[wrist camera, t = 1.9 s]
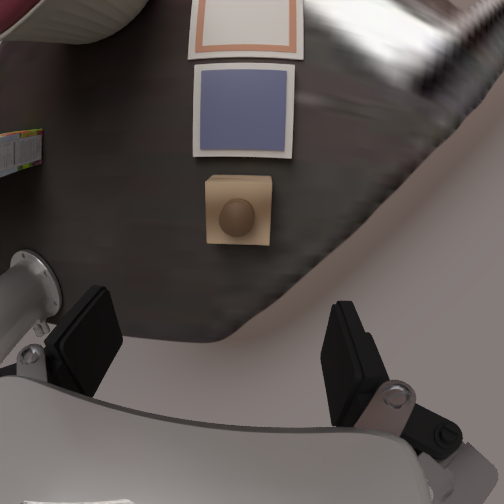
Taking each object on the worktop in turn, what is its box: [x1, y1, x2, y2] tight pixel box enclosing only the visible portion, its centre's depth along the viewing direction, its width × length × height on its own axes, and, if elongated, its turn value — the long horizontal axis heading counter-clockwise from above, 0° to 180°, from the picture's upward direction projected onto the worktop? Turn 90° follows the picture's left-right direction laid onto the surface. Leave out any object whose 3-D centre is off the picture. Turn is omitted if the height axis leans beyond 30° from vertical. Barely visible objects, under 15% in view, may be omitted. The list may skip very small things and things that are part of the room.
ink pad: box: [193, 63, 295, 159], centre depth 25 cm, size 10×10×2 cm
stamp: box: [205, 174, 272, 245], centre depth 27 cm, size 6×6×7 cm
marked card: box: [188, 0, 303, 60], centre depth 21 cm, size 12×12×1 cm
